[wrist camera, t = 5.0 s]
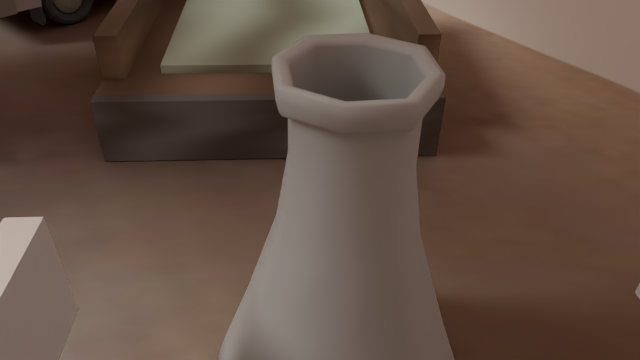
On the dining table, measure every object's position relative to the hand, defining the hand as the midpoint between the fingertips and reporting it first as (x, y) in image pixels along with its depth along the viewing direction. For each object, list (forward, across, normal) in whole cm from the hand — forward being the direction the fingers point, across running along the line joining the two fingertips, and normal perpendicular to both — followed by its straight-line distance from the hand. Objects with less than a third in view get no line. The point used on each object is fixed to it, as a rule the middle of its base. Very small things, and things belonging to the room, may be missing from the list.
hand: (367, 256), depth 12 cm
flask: (+1, 0, -6) cm, 6 cm away
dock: (+20, -2, -6) cm, 21 cm away
